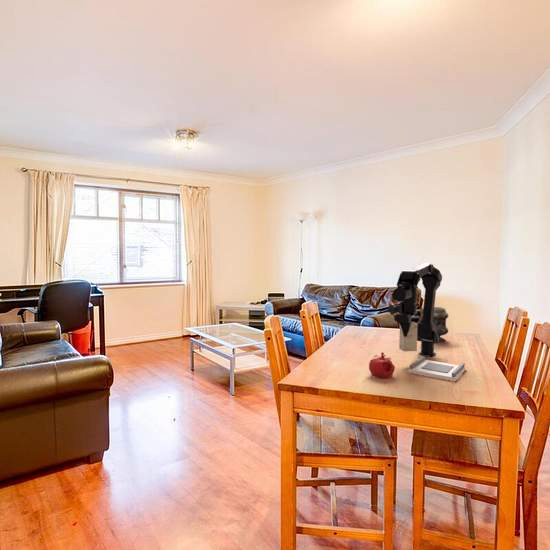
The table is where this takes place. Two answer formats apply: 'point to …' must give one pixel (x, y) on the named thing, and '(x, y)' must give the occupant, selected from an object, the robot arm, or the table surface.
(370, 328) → the table surface
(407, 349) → the skincare box
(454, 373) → the stand
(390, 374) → the pomegranate
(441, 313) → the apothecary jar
